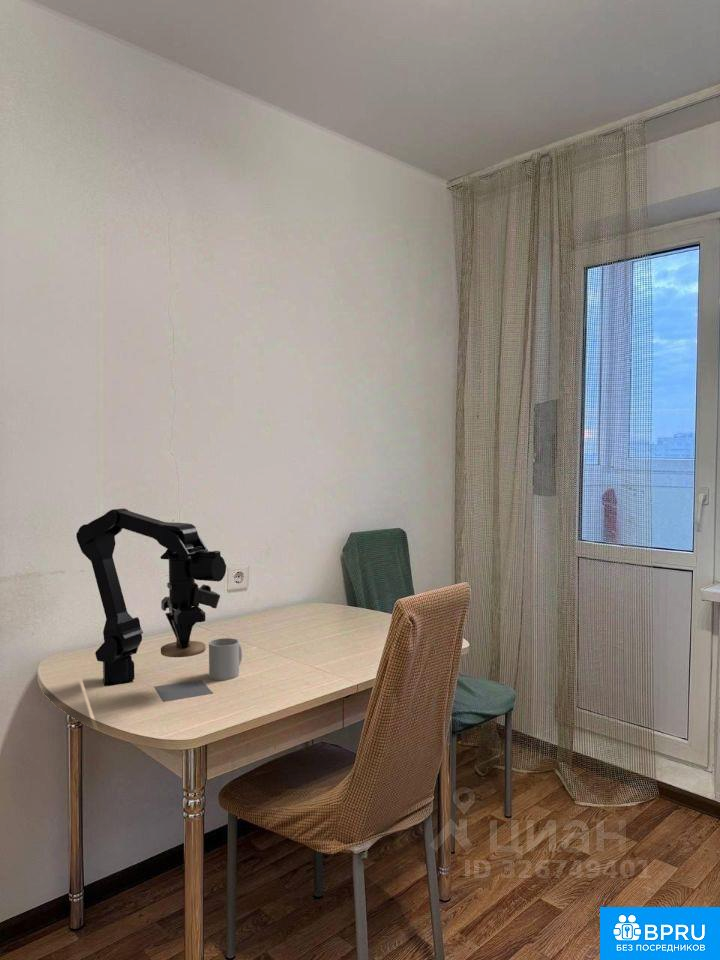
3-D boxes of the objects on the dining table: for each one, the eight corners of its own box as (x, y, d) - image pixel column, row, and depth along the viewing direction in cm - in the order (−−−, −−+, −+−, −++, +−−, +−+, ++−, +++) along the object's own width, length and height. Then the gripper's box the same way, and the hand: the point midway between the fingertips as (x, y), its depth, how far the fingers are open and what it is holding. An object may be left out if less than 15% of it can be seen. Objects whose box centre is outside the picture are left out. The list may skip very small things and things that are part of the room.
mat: (163, 704, 148) (163, 701, 148) (154, 689, 158) (154, 686, 158) (213, 695, 153) (212, 693, 153) (201, 681, 163) (200, 679, 163)
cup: (203, 679, 164) (202, 643, 164) (230, 668, 173) (229, 634, 173) (225, 684, 161) (225, 647, 161) (252, 672, 170) (251, 637, 169)
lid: (165, 659, 148) (165, 644, 148) (156, 648, 157) (156, 633, 157) (210, 653, 153) (210, 638, 153) (199, 642, 162) (199, 628, 162)
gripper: (227, 582, 150) (228, 651, 150) (206, 570, 167) (207, 632, 167) (177, 586, 145) (178, 658, 145) (160, 574, 161) (161, 638, 162)
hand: (183, 646), depth 155 cm, fingers closed on lid, 3 cm apart
